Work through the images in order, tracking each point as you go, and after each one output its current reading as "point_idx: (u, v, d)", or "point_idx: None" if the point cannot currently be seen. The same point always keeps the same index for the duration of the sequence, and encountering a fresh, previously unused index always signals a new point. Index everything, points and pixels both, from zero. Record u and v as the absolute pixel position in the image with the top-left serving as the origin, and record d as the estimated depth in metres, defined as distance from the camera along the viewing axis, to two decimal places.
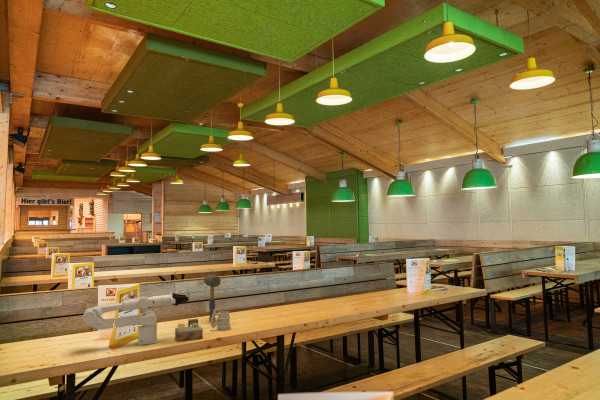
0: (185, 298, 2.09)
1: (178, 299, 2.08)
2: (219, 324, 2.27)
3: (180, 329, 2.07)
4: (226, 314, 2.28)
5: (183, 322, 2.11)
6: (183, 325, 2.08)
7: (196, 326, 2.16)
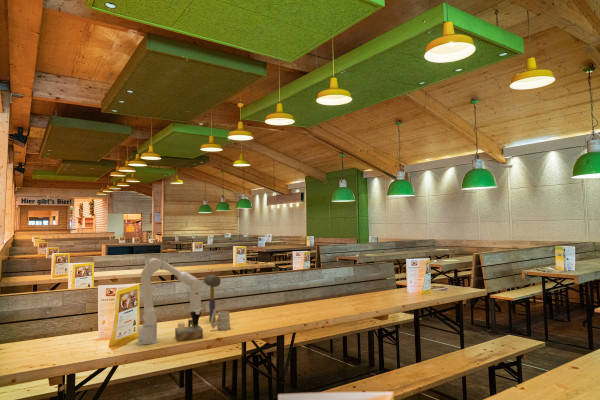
0: (196, 322, 2.15)
1: (196, 315, 2.15)
2: (219, 324, 2.27)
3: (180, 329, 2.07)
4: (226, 314, 2.28)
5: (183, 322, 2.11)
6: (183, 325, 2.08)
7: (196, 326, 2.16)
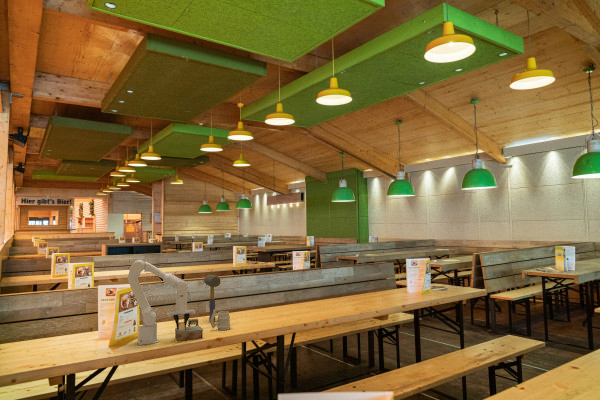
0: (177, 326, 2.08)
1: None
2: (219, 324, 2.27)
3: (180, 329, 2.07)
4: (226, 314, 2.28)
5: (183, 322, 2.11)
6: (183, 325, 2.08)
7: (196, 326, 2.16)
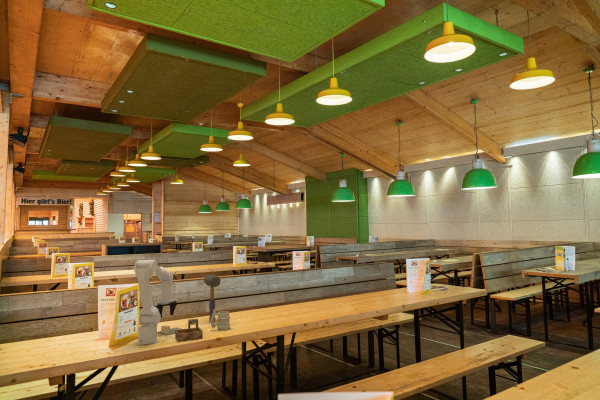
0: (159, 314, 2.20)
1: None
2: (219, 324, 2.27)
3: (166, 332, 2.20)
4: (226, 314, 2.28)
5: (166, 325, 2.24)
6: (169, 328, 2.22)
7: (175, 328, 2.31)
